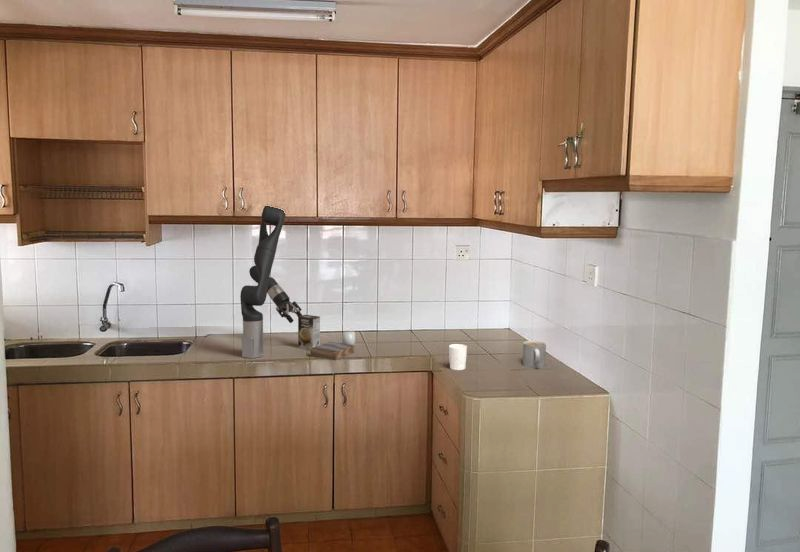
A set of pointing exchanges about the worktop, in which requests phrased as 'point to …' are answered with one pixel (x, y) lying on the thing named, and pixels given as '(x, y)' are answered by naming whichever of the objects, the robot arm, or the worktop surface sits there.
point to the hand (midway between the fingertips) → (297, 320)
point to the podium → (332, 350)
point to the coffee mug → (534, 354)
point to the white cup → (457, 356)
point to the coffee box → (308, 331)
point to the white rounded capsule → (349, 337)
